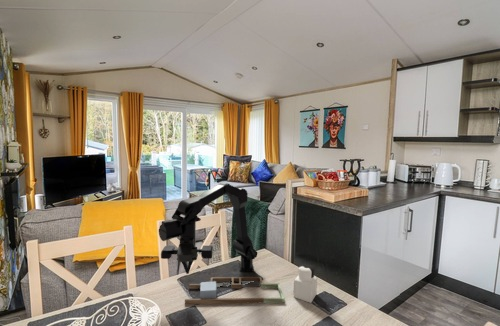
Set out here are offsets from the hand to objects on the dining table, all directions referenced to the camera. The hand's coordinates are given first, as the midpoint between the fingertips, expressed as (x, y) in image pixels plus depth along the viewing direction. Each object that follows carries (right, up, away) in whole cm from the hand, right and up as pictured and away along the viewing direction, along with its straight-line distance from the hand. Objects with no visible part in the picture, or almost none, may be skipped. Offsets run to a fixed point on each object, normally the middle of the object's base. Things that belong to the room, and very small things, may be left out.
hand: (187, 273), depth 99 cm
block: (+8, -9, +1) cm, 12 cm away
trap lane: (+18, -9, +5) cm, 21 cm away
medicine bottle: (+46, -10, +3) cm, 47 cm away
